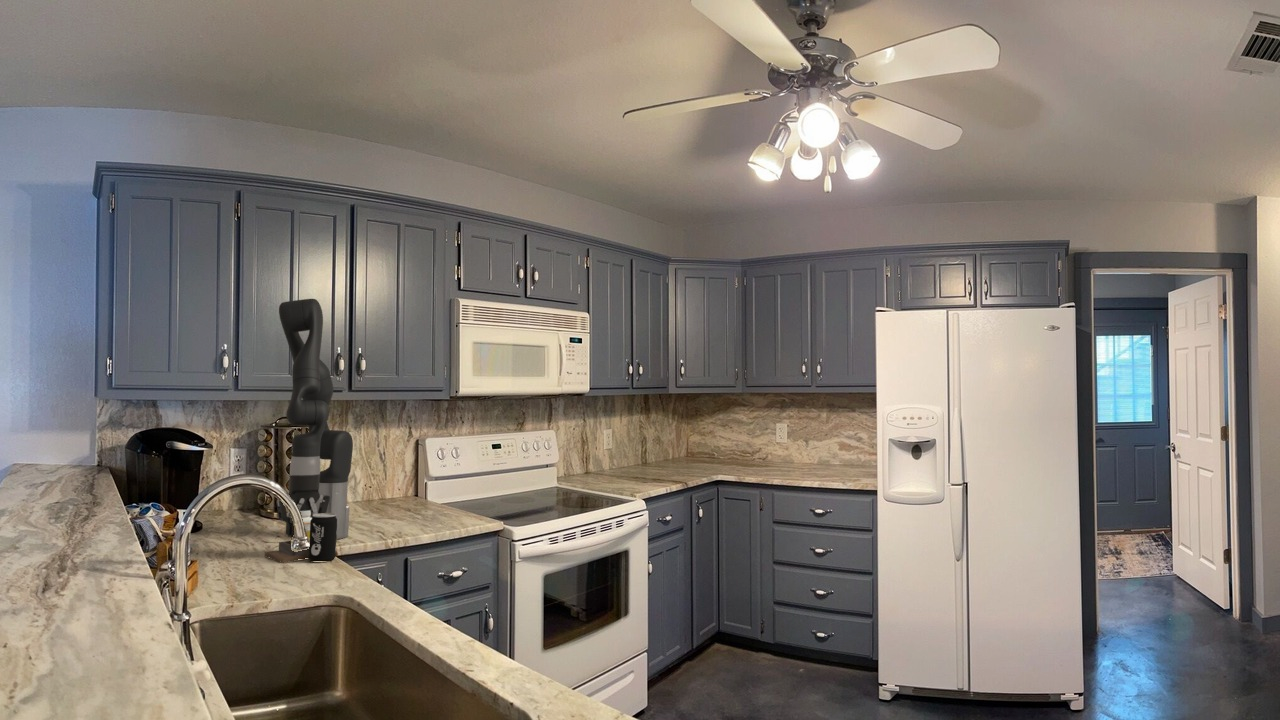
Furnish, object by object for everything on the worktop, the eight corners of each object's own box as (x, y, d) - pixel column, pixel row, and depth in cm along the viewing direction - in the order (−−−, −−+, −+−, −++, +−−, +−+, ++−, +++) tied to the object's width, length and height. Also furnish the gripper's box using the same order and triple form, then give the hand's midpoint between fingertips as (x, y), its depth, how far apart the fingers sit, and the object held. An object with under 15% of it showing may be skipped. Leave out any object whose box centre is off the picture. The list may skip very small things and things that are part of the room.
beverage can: (337, 561, 185) (339, 515, 186) (310, 564, 181) (312, 517, 182) (333, 557, 190) (335, 512, 191) (306, 559, 187) (309, 513, 188)
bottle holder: (316, 549, 200) (317, 536, 200) (335, 555, 193) (336, 541, 193) (264, 556, 189) (265, 542, 189) (283, 562, 182) (283, 548, 182)
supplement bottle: (315, 546, 191) (316, 510, 192) (294, 548, 188) (296, 512, 188) (307, 543, 195) (309, 508, 196) (287, 545, 191) (289, 510, 192)
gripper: (324, 470, 201) (321, 530, 199) (271, 473, 190) (268, 536, 188) (337, 472, 196) (334, 533, 195) (284, 475, 185) (280, 540, 184)
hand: (301, 534), depth 192 cm, fingers closed on supplement bottle, 5 cm apart
